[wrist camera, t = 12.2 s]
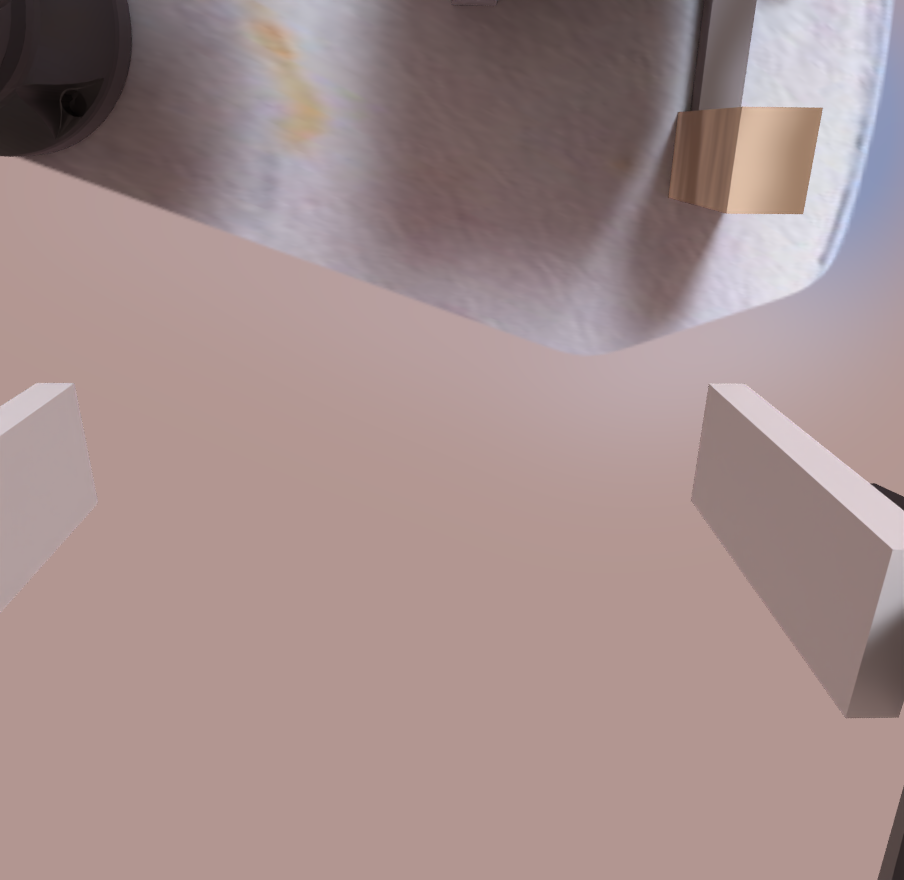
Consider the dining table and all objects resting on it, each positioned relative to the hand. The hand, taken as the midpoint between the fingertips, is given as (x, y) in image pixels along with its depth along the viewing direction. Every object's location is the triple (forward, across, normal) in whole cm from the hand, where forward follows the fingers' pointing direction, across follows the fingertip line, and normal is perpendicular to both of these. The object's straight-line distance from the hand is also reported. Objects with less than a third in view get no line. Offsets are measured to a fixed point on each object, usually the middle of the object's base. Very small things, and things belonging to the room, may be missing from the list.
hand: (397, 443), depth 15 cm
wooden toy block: (+35, +18, +13) cm, 41 cm away
